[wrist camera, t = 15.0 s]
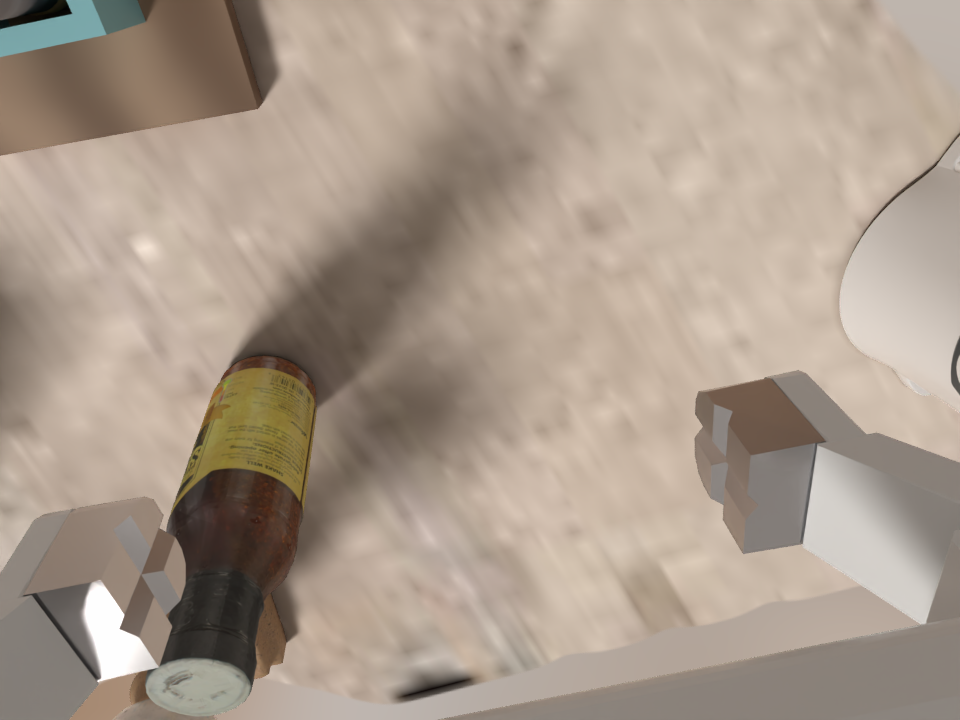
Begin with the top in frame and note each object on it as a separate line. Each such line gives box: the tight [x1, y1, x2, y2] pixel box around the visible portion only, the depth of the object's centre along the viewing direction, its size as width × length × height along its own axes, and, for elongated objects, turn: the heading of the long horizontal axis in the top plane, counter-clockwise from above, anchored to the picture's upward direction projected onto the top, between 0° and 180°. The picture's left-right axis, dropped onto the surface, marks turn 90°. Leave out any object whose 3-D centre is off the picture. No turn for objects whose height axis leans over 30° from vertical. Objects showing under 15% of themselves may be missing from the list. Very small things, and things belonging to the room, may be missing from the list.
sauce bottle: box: [145, 355, 317, 717], centre depth 35 cm, size 7×6×20 cm
